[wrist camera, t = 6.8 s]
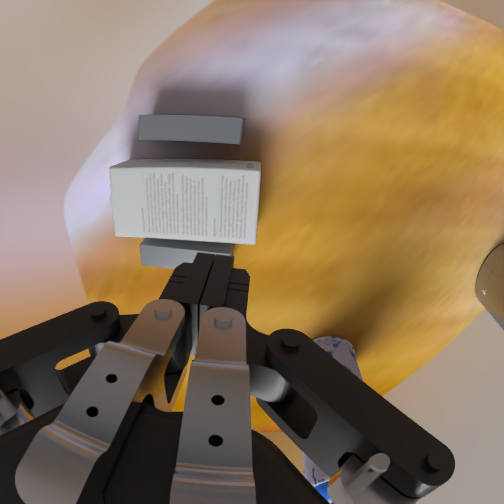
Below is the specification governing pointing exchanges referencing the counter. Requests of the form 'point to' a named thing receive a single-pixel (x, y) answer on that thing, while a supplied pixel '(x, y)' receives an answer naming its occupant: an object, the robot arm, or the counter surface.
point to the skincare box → (186, 199)
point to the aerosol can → (347, 357)
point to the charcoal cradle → (186, 129)
